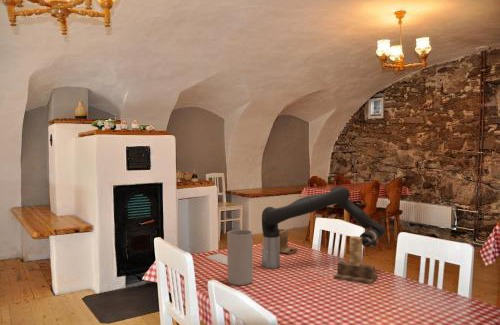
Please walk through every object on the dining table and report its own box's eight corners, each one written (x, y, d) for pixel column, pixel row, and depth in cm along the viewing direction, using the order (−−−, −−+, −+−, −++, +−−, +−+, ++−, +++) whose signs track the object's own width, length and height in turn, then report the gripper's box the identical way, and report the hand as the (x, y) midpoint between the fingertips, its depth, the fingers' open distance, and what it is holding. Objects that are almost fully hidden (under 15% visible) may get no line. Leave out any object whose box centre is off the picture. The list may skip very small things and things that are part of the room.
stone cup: (267, 252, 284) (267, 228, 283) (280, 248, 292) (280, 226, 291) (286, 256, 273) (285, 232, 272) (298, 253, 281) (298, 229, 281)
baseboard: (235, 270, 247) (252, 266, 255) (235, 265, 247) (252, 261, 254) (203, 259, 270) (219, 256, 278) (203, 254, 270) (219, 251, 278)
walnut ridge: (333, 278, 229) (333, 265, 229) (341, 272, 239) (341, 259, 239) (371, 284, 219) (371, 270, 219) (377, 277, 230) (377, 264, 229)
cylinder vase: (256, 279, 228) (256, 231, 227) (246, 287, 217) (245, 235, 216) (234, 276, 233) (234, 229, 232) (223, 283, 222) (222, 233, 221)
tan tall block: (349, 265, 228) (349, 238, 227) (352, 262, 232) (352, 236, 232) (359, 266, 226) (359, 239, 225) (361, 264, 230) (362, 237, 229)
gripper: (355, 230, 251) (346, 235, 237) (381, 232, 244) (373, 238, 230) (355, 243, 251) (346, 249, 237) (381, 246, 244) (373, 252, 230)
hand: (359, 244), depth 234 cm, fingers open, 8 cm apart
